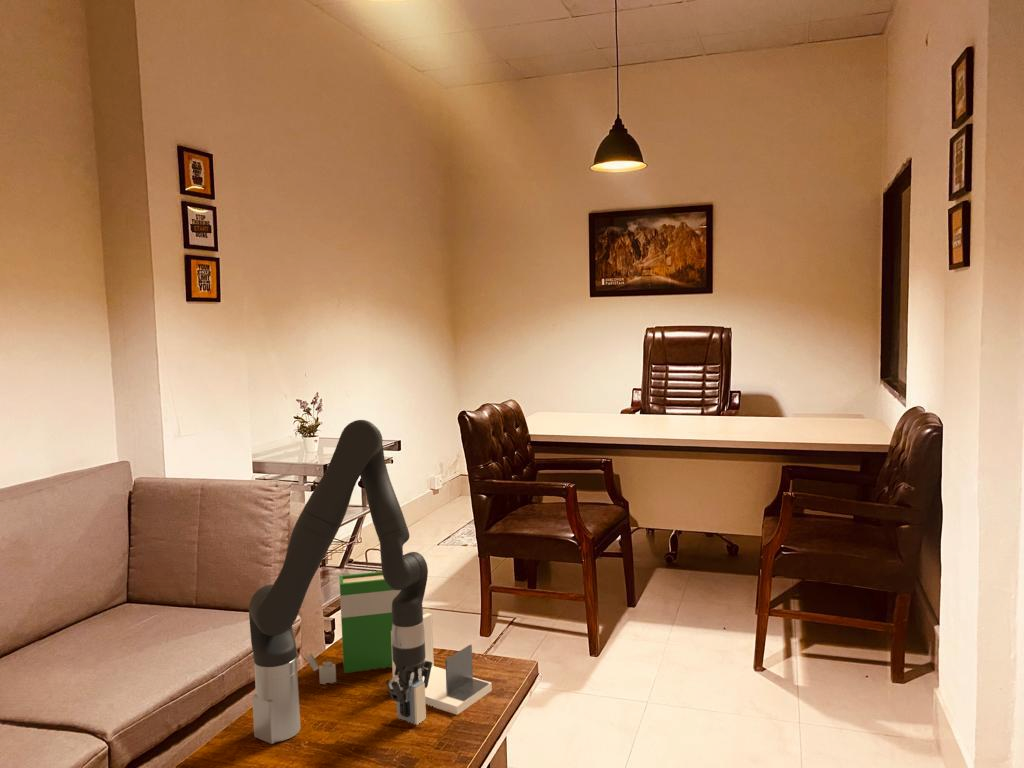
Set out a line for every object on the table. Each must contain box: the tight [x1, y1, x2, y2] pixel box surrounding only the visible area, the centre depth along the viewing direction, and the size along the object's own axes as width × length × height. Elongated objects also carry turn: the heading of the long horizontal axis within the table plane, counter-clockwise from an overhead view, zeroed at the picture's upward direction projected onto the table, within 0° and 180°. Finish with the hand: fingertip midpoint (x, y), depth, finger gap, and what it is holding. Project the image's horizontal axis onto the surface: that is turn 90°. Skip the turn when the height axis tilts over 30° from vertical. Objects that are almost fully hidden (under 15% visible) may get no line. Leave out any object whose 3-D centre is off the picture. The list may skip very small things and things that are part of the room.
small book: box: [396, 681, 427, 726], centre depth 184 cm, size 3×6×9 cm, turn 56°
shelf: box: [391, 612, 493, 716], centre depth 196 cm, size 14×20×16 cm
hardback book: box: [338, 570, 401, 674], centre depth 214 cm, size 18×7×24 cm, turn 104°
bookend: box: [444, 644, 489, 701], centre depth 193 cm, size 10×5×9 cm, turn 146°
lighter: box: [305, 652, 337, 685], centre depth 203 cm, size 7×2×8 cm, turn 105°
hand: (411, 712), depth 184 cm, fingers open, 3 cm apart
